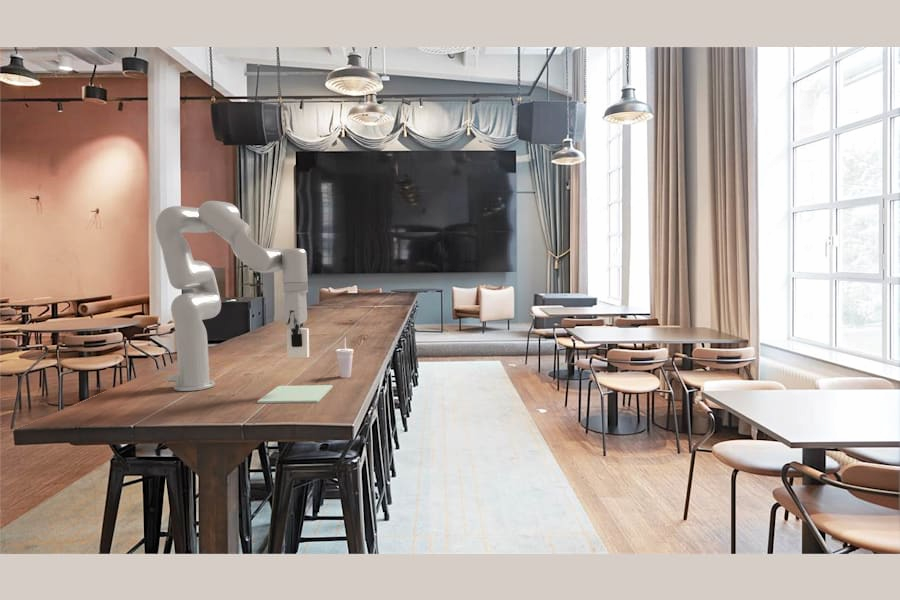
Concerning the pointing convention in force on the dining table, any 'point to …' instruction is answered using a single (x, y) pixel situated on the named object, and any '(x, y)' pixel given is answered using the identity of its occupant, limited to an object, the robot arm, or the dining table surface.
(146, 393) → the dining table surface
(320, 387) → the mat
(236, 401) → the dining table surface
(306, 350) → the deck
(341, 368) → the smoothie
